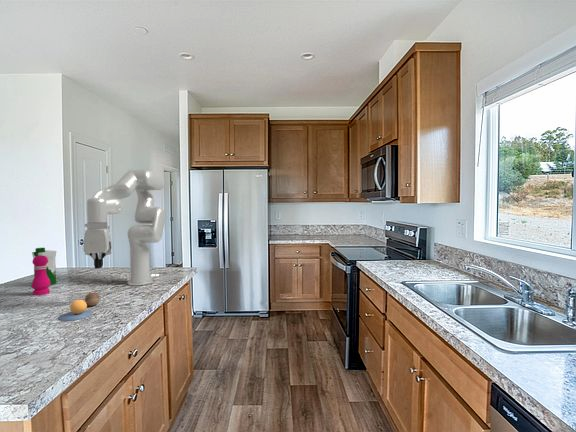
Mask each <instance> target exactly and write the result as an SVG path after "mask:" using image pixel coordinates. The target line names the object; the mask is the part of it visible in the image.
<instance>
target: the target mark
mask: <svg viewBox="0 0 576 432" xmlns="http://www.w3.org/2000/svg"><path fill="white" fill-rule="evenodd" d="M92 314H93V312H92V311H90V310H85V311H84V312H83V313H81V314H74V313H72V312H67V313H63V314H61V315H59V316H58V317H57V320H58V321H60V320H61V322H71V321H72V320H73V321H78V319H79V320H82V318H83V319H86V318H87V317H90V316H92ZM73 321H72V322H73Z"/></svg>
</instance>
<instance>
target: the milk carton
mask: <svg viewBox="0 0 576 432" xmlns="http://www.w3.org/2000/svg"><path fill="white" fill-rule="evenodd" d="M40 252H41V253H42V256H46V257H47V258H48V263H47V264H46V265H47V268H46V274H47V276H48V278H49V280H50V286H53V285H56V284H57V274H56V273H57V272H56V271H57V269H56V257H57V250H49V249H48V250H46V248H45V247H36V248H35V251H31V255H32V258H33V259H34V258H35V257H36V256H38V253H40ZM33 259H32V260H33ZM34 266H35V265H34V264H33V267H34ZM33 272H34V274H33V275H34V277H35V269H34V268H33ZM34 277H33V278H34Z"/></svg>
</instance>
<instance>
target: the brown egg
mask: <svg viewBox="0 0 576 432" xmlns="http://www.w3.org/2000/svg"><path fill="white" fill-rule="evenodd" d="M100 300H101V297H100V295H99V294H98V293H97V292H89V293H88V294H86V296H85V298H84V301H85V302H86V304H87V306H90V307H94V306H96V305H97V304H98V303H99V302H100Z"/></svg>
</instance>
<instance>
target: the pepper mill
mask: <svg viewBox="0 0 576 432" xmlns="http://www.w3.org/2000/svg"><path fill="white" fill-rule="evenodd" d="M47 263H48V258H47V257H46V256H42V253H41V252H40V253H38V256H36V257H35V258H34V259H32V265H33V270H34V269H35V277H33V279H32V282H31V288H32V289H33V291H32V294H33V295H32V296H43V295H48V294H49V293H50V288H49V287H50V286H51V285H50V280H49V278H48V276H47V274H46V268H47V265H46V264H47ZM34 265H35V266H34Z"/></svg>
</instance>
